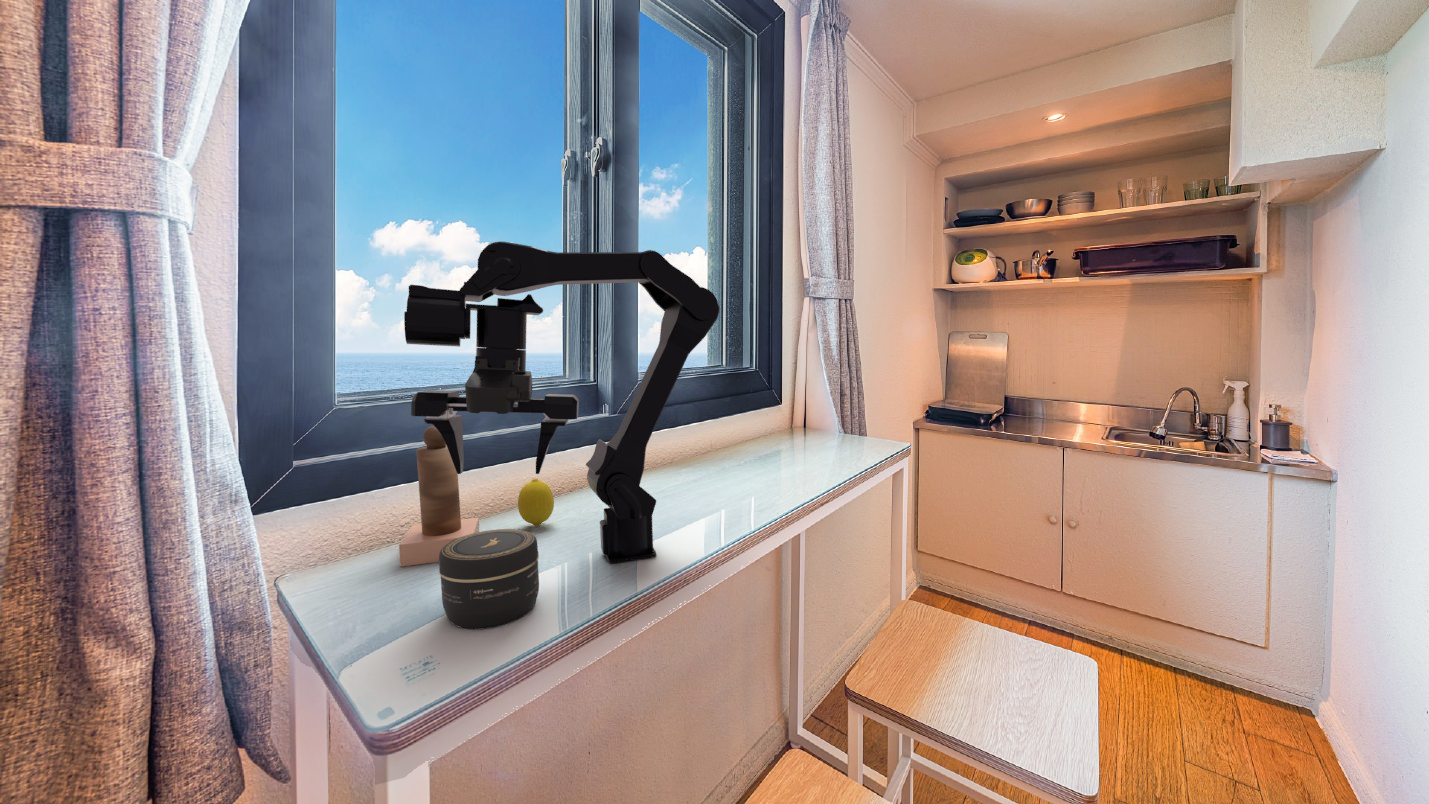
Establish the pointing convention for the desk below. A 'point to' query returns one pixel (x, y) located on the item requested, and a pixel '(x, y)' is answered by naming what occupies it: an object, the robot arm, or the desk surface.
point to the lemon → (535, 502)
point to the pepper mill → (437, 486)
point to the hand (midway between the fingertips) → (499, 473)
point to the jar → (489, 577)
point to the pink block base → (430, 543)
